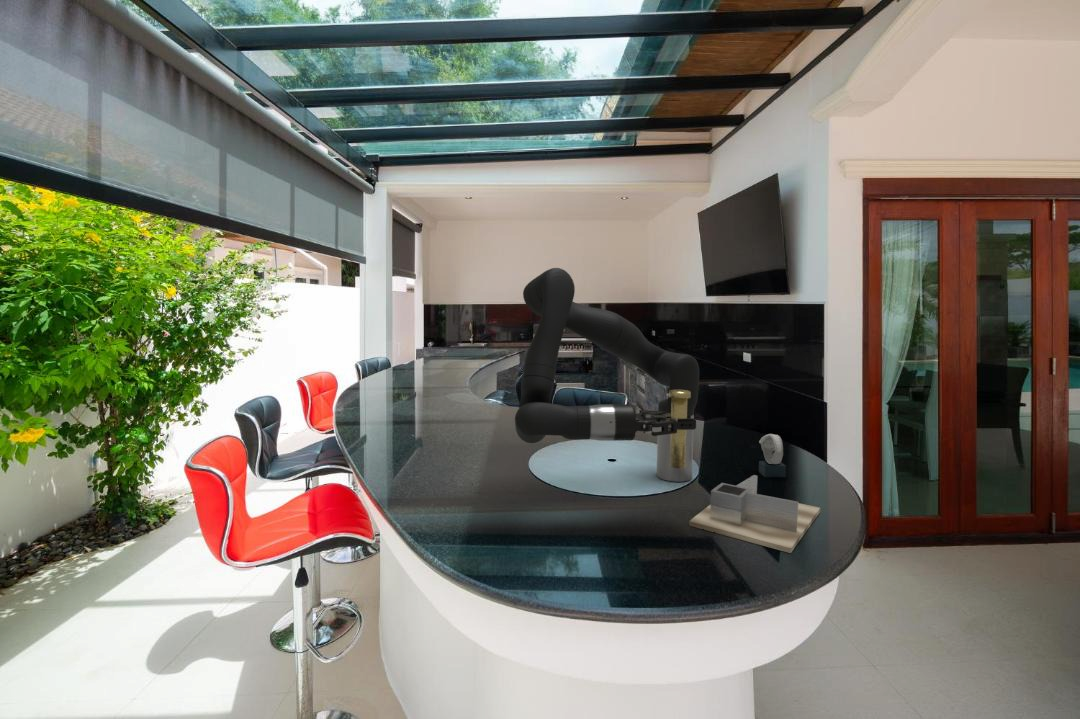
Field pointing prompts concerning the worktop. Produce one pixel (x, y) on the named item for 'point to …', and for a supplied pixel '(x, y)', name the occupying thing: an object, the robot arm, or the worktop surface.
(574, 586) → the worktop surface
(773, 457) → the watch
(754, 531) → the board
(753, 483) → the hinge
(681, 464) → the hinge pin
